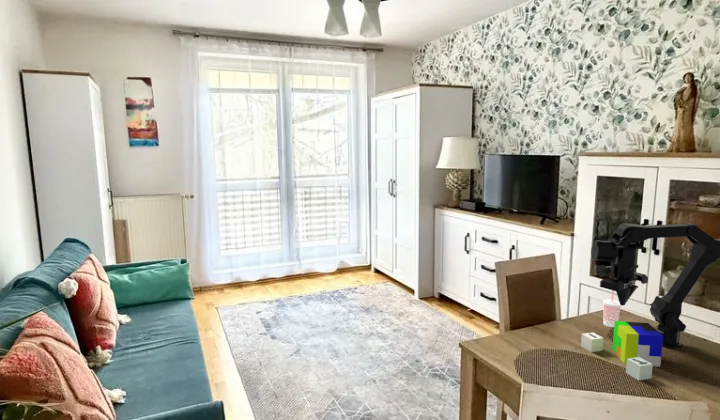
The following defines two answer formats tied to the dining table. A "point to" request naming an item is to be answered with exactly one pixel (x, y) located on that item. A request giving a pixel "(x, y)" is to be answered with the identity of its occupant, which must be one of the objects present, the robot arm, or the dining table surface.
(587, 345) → the digit block one
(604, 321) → the beverage cup
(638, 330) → the puzzle toy
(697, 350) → the dining table surface
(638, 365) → the digit block seven
